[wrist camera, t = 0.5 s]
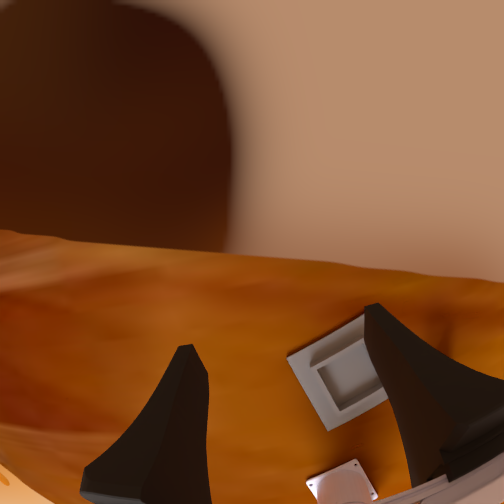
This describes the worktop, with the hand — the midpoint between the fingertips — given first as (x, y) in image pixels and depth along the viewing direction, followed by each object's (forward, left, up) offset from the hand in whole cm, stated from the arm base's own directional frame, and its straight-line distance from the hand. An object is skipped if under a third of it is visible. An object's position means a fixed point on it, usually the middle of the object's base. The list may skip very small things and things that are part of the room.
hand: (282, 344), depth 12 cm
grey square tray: (-11, -2, -27) cm, 29 cm away
